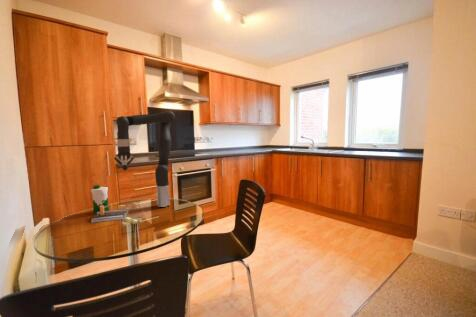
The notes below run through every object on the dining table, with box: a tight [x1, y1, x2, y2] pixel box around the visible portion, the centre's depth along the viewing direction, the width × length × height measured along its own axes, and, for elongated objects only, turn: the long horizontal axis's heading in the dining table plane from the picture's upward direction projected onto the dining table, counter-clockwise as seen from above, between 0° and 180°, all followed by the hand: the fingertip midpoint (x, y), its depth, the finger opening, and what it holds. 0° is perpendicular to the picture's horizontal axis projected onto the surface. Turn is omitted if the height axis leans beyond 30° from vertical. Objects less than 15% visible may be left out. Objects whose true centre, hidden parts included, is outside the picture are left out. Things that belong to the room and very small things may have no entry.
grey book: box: [91, 208, 128, 220], centre depth 147 cm, size 19×13×2 cm
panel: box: [90, 209, 130, 224], centre depth 148 cm, size 20×13×2 cm, turn 107°
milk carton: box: [90, 184, 110, 215], centre depth 156 cm, size 9×9×20 cm
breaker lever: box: [98, 205, 107, 216], centre depth 146 cm, size 4×3×6 cm
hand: (125, 170), depth 150 cm, fingers closed
